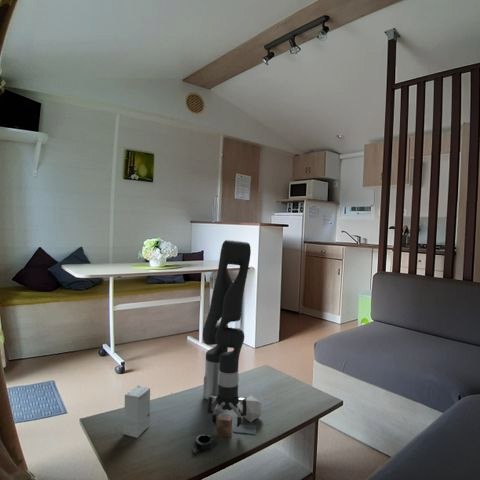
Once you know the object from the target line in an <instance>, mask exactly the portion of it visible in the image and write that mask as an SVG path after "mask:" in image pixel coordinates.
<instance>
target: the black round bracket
mask: <svg viewBox="0 0 480 480" xmlns="http://www.w3.org/2000/svg"><path fill="white" fill-rule="evenodd" d="M215 438H216V435H214V434H211V435H210V434H206V433H204V434H203V433H202V434H199V435H197V436H196V438H195V441H194V444H193V447H192V449H191V451H192V452H193V453H194V454H196V455H197V454H198V453H199V452H200V453H207V452H210V451H211V450H212V449H213V440H214V439H215Z"/></svg>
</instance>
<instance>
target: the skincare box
mask: <svg viewBox="0 0 480 480" xmlns="http://www.w3.org/2000/svg"><path fill="white" fill-rule="evenodd" d="M150 408H151V387H147V386H142V385H137V386H135V387H134V388H132V389H130V390H129V392H127V393H125V394H124V414H123V418H124V419H123V434H124V435H125V436H129V437H131V438H136V439H139V437H140V436H141V434H142V433H143V432H144V431H146V429H148V428H149V427H150V415H151V413H150V412H151V411H150V410H151V409H150Z"/></svg>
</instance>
